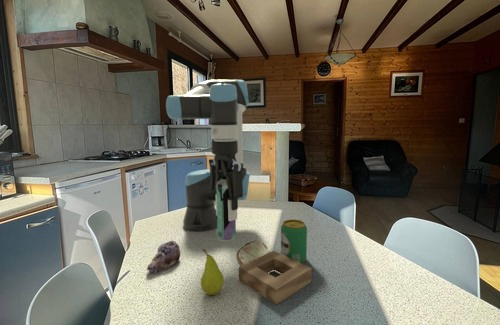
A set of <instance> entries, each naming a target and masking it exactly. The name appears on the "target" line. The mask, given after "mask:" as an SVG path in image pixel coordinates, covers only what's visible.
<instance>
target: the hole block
mask: <svg viewBox="0 0 500 325" xmlns="http://www.w3.org/2000/svg"><path fill="white" fill-rule="evenodd" d="M237 269H238V281H239V282H240V283H242V284H243V285H245V286H247V287H249V288H250V289H252V290H253V291H255V292H256V293H257V294H258V295H260V296H262V297H263V298H264V299H266V300H268V301H269V302H271V303H273V304H274V305H275V306H277V305H279V304H280V303H282V302H283V301H284V300H287V298H290V297H291V296H292V295H294V294H295V293H297V292H298V291H300V290H301V289H303V288H304V287H306V286H307V285H308V284H310V283H311V282H312V270H313V269H312V267H310V266H308V265H306V264H304V263H303V264H302V263H300V262H297V261H295V260H293V259H291V258H289V257H287V256H284V255H282V254H281V252H278V251H275V250H271V251H269V252H268V253H265V254H264V255H261V256H258V257H257V258H254V259H252V260H250V261H249V262H246V263H243V264H242V265H240V266H238V268H237ZM272 270H276V271H278V272H280V273H282V274H281V275H280V274H278V276H276V277H275V276H273V275H272V274H271V273H270V274H268V272H270V271H272Z"/></svg>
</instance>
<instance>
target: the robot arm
mask: <svg viewBox="0 0 500 325" xmlns="http://www.w3.org/2000/svg"><path fill="white" fill-rule="evenodd" d="M247 86H248V85H247V82H246V81H245V80H243V79H238V78H237V79H209V80H204V81H202V82H199V83H196V84H194V85H193V86H192V87H191V88H190V90H189V91H187V92H186V93H184V94H173V95H170V94H169V95H168V96H167V98H166V102H165V110H166V114H167V116H168V117H169V119H171V120H179V121H180V120H210V128H211V130H210V132H211V133H210V134H211V136H210V138H211V139H212V142H211V153H212V154H213V155H214V158H210V159H208V164H209V169H207V168H206V169H200V170H199V169H198V170H195V171H191V172H189V173H188V174H187V175H186V176H185V184H184V186H185V196H186V197H185V199H186V210H185V213H184V217H183V225H182V226H183V228H184V229H186V230H187V231H192V232H204V231H209V230H213V229H215V228H218V222H217V190H216V185H217V182H218V181H220V180H221V178H222V175H224V176H225V177H226V180H227V186H228V191H229V196H230V198H228V221H233V220H238V209H239V202H238V201H245V200H246V199H247V198H248V193H249V185H250V178H251V176H250V175H251V174H250V172H248V171H247V167H246V166H245V165H244V160H243V159H244V158H243V157H244V156H243V155H244V153H243V151H244V149H243V148H244V147H243V146H244V145H243V144H244V143H243V138H244V136H243V113H244V112H245V111H246V109H247V107H248V106H249V105H250V102H249V100H250V99H249V92H248V87H247ZM233 194H234V195H233Z"/></svg>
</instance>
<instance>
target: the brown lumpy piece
mask: <svg viewBox="0 0 500 325" xmlns="http://www.w3.org/2000/svg"><path fill="white" fill-rule="evenodd" d="M180 258H181V248H180V245H179V244H178V243H177V242H176V241H174V240H170V241H167V242H164V243H162V244H160V245H159V246H158V249H157V253H156V254H155V255H154V256H153V258H152V259H151V262H150V263H149V264H148V266H147V269H146V271H147V272H148V271H150V273H151V272H152V273H153V272H154V275H156V274H157V271H158V272H159V273H160V272H162V271H165V270H166V269H168V268H170V267H171V266H172V265H174V264H177V263H178V262H179V261H180ZM167 262H170V263H169V264H167Z"/></svg>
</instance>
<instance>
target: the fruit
mask: <svg viewBox="0 0 500 325" xmlns="http://www.w3.org/2000/svg"><path fill="white" fill-rule="evenodd" d="M202 251H203V252H204V253H205V255H206V261H205V264H204V270H203V273H202V275H201V278H200V287H201V289H202V291H203V293H205V294H206V295H209V296H214V295H217V294H218V293H219V292H220V291H221V290H222V288H223V286H224V275H223V273H222V272H221V270H220V268H219V266H218V263H217V261H216V259H215V258H214V256H212V255H211V254H208V252H207V250H206V249H204V248H203V249H202Z"/></svg>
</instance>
